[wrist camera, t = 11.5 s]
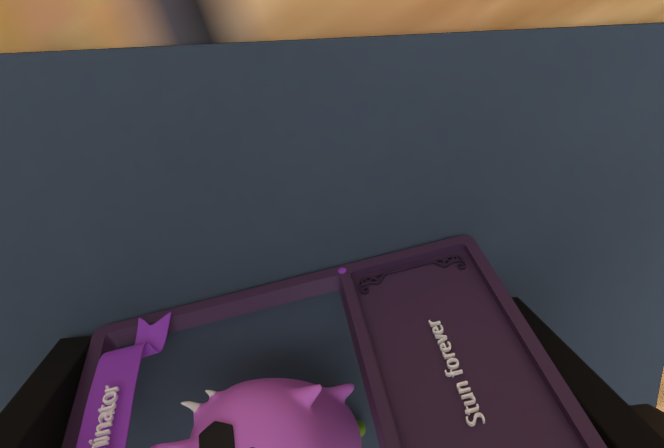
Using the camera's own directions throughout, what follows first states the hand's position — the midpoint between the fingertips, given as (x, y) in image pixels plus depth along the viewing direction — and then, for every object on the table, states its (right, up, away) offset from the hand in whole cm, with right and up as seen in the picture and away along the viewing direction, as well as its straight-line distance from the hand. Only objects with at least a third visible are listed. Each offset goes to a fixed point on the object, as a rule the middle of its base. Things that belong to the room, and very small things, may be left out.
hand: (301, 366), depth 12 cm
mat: (0, 0, +1) cm, 1 cm away
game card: (0, 0, 0) cm, 1 cm away
